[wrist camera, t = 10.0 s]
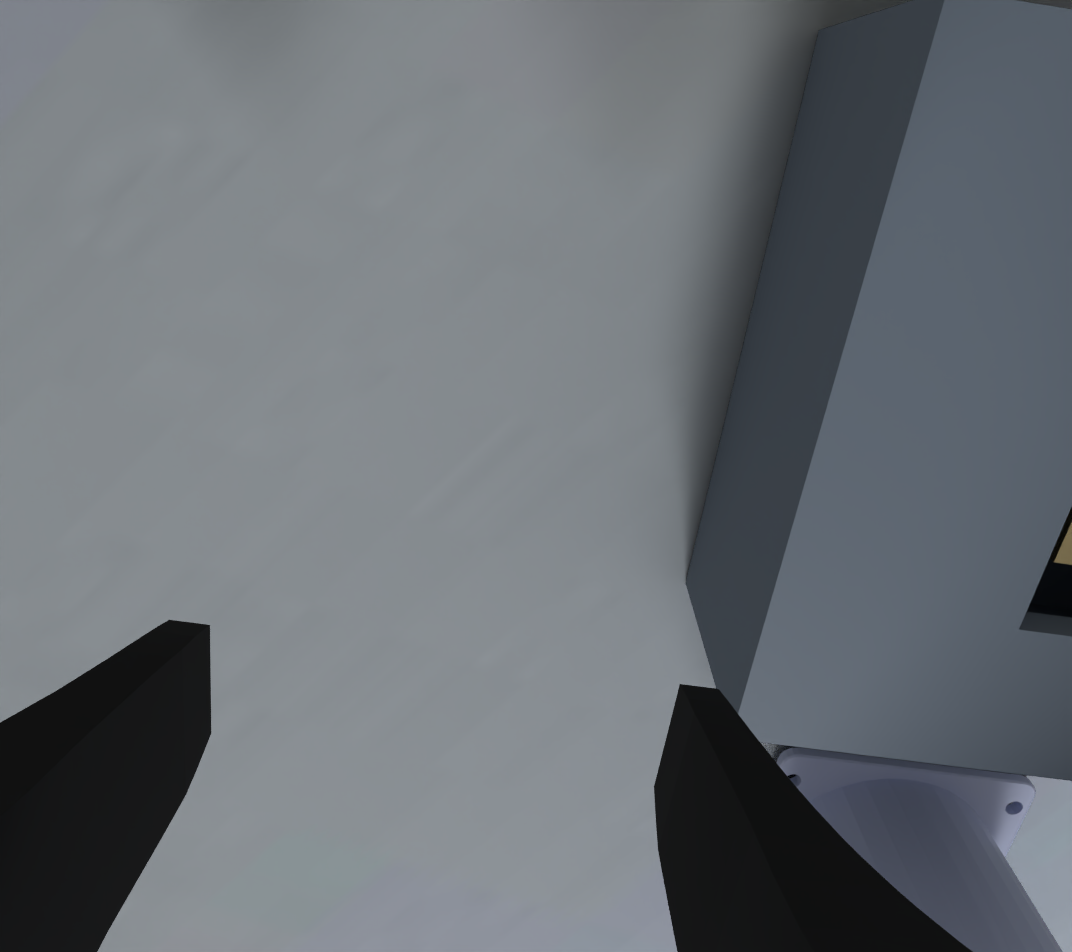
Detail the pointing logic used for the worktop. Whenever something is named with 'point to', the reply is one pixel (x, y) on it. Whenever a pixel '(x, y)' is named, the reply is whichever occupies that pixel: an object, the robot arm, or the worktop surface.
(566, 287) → the worktop surface
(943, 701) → the slot box
